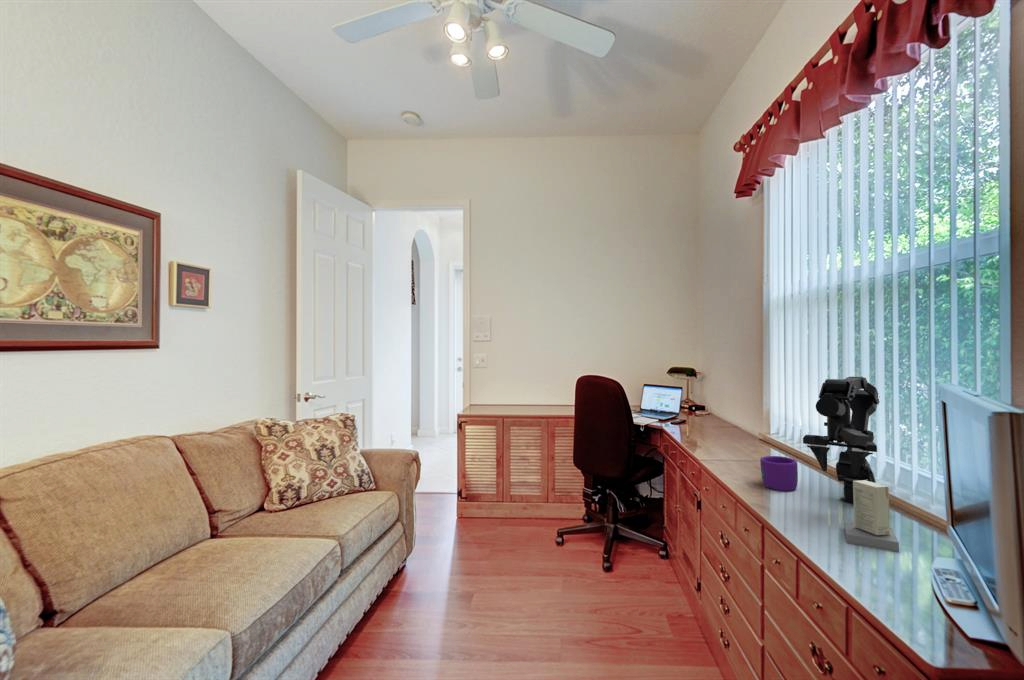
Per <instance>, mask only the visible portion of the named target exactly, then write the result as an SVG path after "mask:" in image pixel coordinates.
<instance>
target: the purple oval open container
mask: <svg viewBox="0 0 1024 680" xmlns="http://www.w3.org/2000/svg"><path fill="white" fill-rule="evenodd" d="M760 471H761V472H760V474H761V479H762V482H763V485H764V486H765V487H766V488H768V489H770V488H771V489H770V490H773V489H774V490H773V491H779V490H780V492H789V491H794V490H796V489H797V487H798V480H799V479H798V478H799V475H798V461H797V460H795V459H794V458H791V457H787V456H779V455H778V456H777V455H768V456H767V455H766V456H763V457H760Z"/></svg>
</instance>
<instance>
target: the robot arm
mask: <svg viewBox="0 0 1024 680" xmlns="http://www.w3.org/2000/svg"><path fill="white" fill-rule="evenodd" d="M878 394H879V392H878V389H877V387H875V386H874V385H873V384H871V383H870V382H868V380H867V378H866V377H864V376H848V377H845V378H842V379H839V378H838V379H837V378H827V379H825V380H824V382H823V383H822V385H821V388H820V391H819V395H818V400H817V401H816V403H815V409H816V412H818V413H819V415H821V416H822V417H823V416H824V417H825V418H826V422H825V421H824V422H823V427H827V428H826V429H827V433H826V435H817V434H805V435H804V436H803V437H802V444H803V445H806V447H807V448H809V449H810V450H811V452H812V453H813V456H815V458H816V461H817V462H818V464H819V466H820V467H821V470H822V471H823V472H827V471H828V453H829V450H830V449H831V447H828V446H834V447H840V448H841V447H842V448H846V449H845V451H840V452H839V455H838V461H837V462H836V464H835V472H836V477H837V481H838V482H843V496H842V497H840V498H839V499H840V500H841V501H845V502H848V503H850V504H853V505H854V501H853V481H858V480H867V481H870V482H874V483H876V479H875V477H876V476H875V475H874V472H873V470H872V467H871V466H870V463H869V461H868V459H867V457H869V456H871V455H873V454H874V453H878V445H877V444H876V443H875V442H874V438H875V437H874V432H873V431H871V430H870V429H869V422H870V421H869V420H870V416H872V415H873V414H874V413H875V412H876V411H877V408H878V405H880V401H879V399H878ZM868 429H869V430H868Z"/></svg>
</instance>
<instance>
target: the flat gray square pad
mask: <svg viewBox="0 0 1024 680" xmlns="http://www.w3.org/2000/svg"><path fill="white" fill-rule="evenodd" d="M843 524H844V532H845V537H846V543H847V544H850V543H851V544H852V545H856V544H857V546H862V547H863V546H864V547H869V548H874V549H880V548H881V549H880V550H887V551H893V552H898V553H900V546H899V545H900V543H899V541H898V538H897V536H896V534H895V532H894V529H893V527H892V526H890V534H887V535H875V534H872V533H870V532H867V531H865V530H862V529H860V528H857V527H855V526H854V521H849V520H844V521H843Z"/></svg>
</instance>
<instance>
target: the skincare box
mask: <svg viewBox="0 0 1024 680" xmlns="http://www.w3.org/2000/svg"><path fill="white" fill-rule="evenodd" d="M889 487H890V486H887V485H884V484H880V483H877V482H875V483H874V482H870V481H867V480H858V481H853V501H854V504H853V522H854V526H855V527H857V528H860V529H862V530H865V531H867V532H870V533H872V534H875V535H887V534H890V527H891V523H890V522H891V521H890V519H891V518H890V493H889V492H890V491H889Z"/></svg>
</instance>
